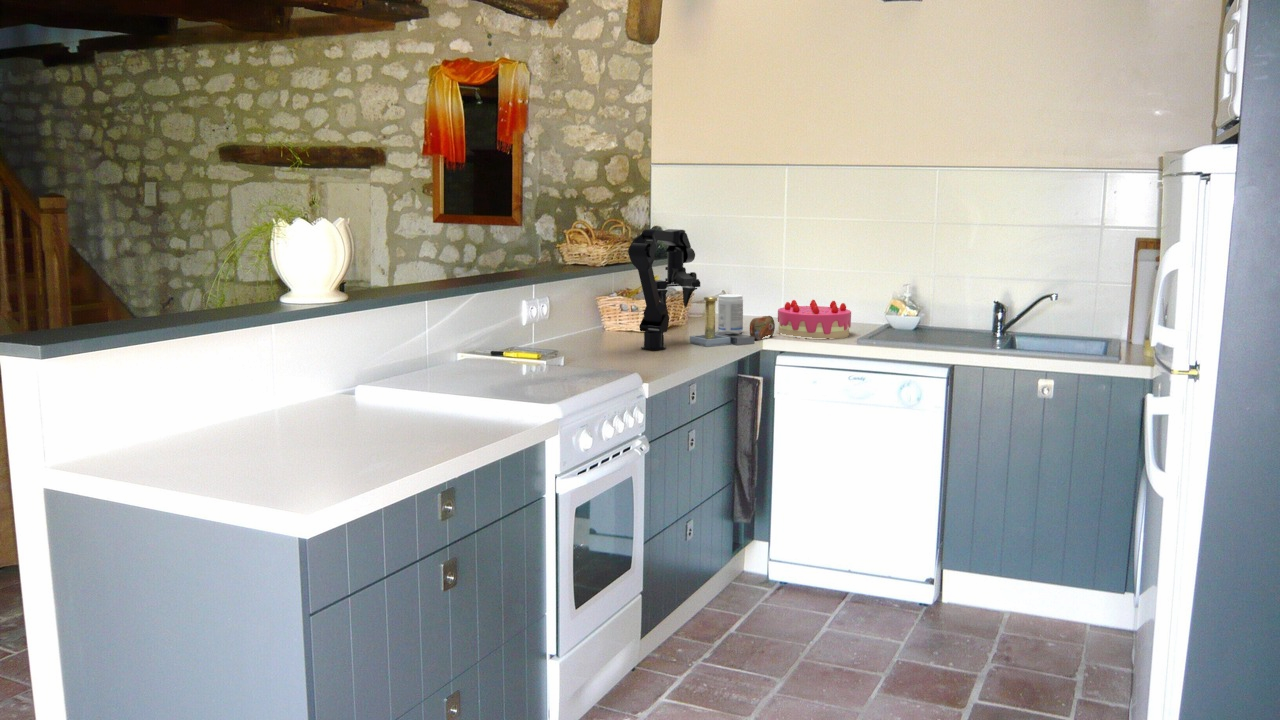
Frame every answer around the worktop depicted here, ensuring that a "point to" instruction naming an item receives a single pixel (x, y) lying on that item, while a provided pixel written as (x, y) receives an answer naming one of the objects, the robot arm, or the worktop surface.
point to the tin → (762, 327)
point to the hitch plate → (737, 338)
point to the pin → (710, 317)
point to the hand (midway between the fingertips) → (674, 307)
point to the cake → (814, 320)
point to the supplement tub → (730, 313)
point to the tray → (710, 340)
